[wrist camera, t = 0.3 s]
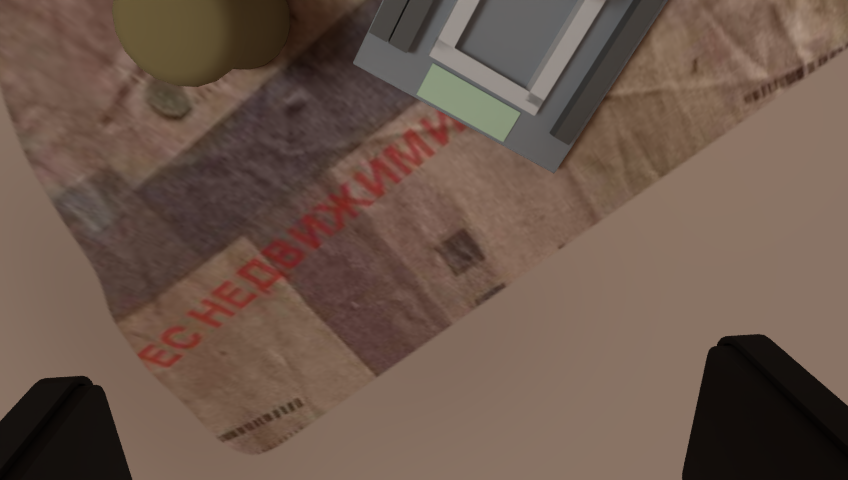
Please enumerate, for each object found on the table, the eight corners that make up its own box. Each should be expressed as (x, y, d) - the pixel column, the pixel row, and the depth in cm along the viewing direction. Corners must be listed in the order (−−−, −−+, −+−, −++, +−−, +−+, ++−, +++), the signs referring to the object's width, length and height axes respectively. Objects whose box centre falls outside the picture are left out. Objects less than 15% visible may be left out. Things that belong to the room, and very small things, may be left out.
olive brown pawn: (309, 42, 33) (274, 63, 22) (221, 86, 33) (149, 127, 23) (254, -64, 30) (187, -93, 20) (160, -14, 31) (51, -17, 21)
